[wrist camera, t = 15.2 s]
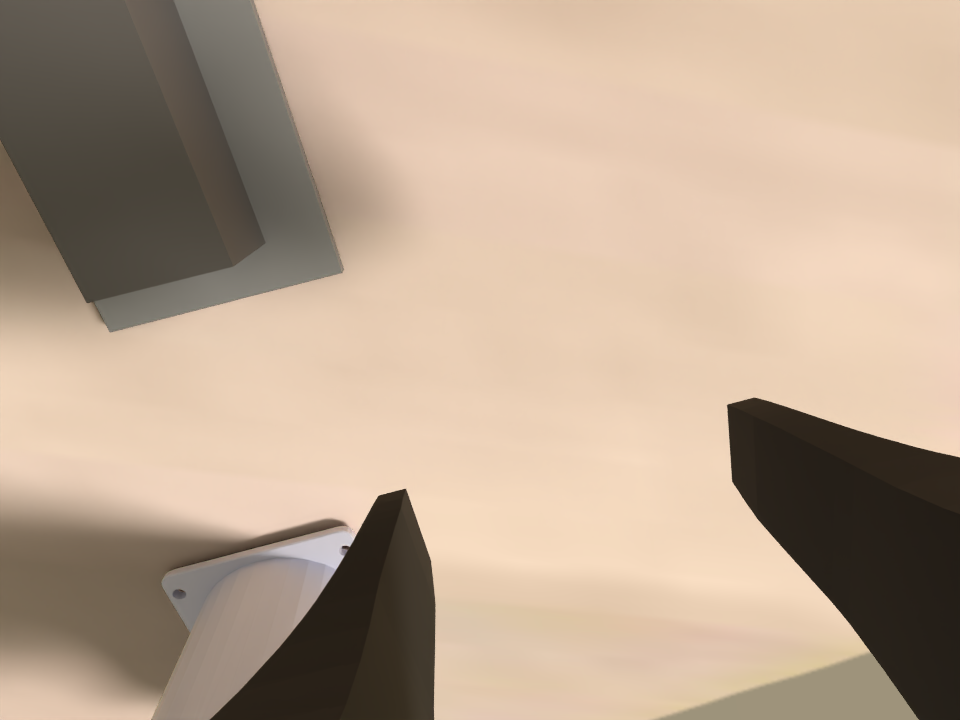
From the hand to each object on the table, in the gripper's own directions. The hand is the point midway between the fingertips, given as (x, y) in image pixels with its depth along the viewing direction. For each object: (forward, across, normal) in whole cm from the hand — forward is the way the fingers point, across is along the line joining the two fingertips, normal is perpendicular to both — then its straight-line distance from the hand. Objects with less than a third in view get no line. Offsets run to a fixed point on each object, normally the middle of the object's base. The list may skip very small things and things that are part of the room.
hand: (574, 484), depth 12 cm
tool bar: (+9, +9, -10) cm, 16 cm away
